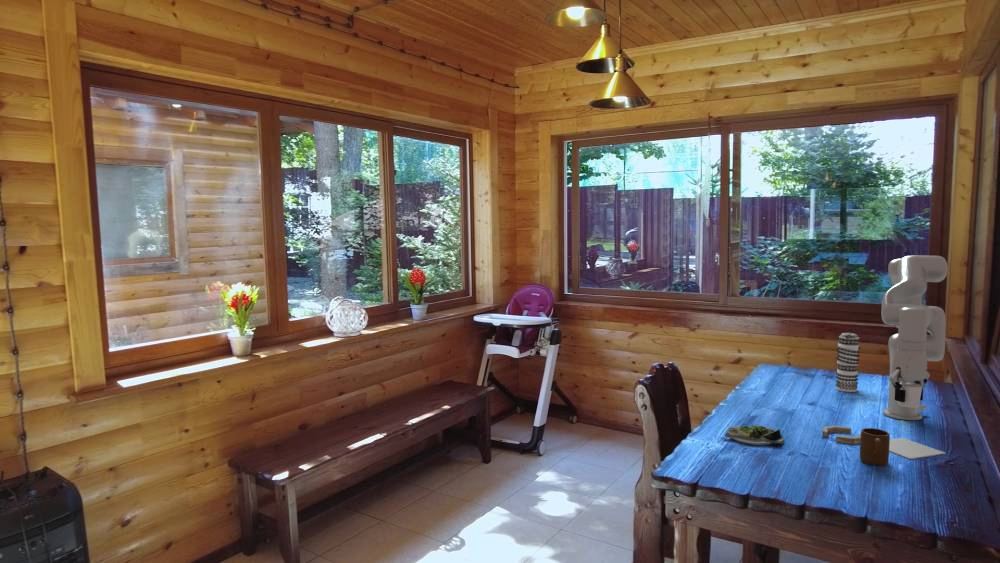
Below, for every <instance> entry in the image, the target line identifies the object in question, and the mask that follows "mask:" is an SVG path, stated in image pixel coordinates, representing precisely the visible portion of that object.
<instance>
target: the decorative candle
mask: <svg viewBox="0 0 1000 563" xmlns="http://www.w3.org/2000/svg"><path fill="white" fill-rule="evenodd" d="M859 339H860V337H859V336H858V335H857V334H856V333H851V332H842V333H841V334H840V335H839V336H838V344H837V345H836V352H837V353H836V360H837V361H836V363H837V371H836V374H835V375H836V376H835V377H836V380H835V386H836V387H835V389H836V390H838V391H840V392H845V393H846V392H847V393H854V392H858V384H859V383H858V381H859V380H858V379H859V378H858V377H859V375H858V366H859V364H860V363H859V362H860V359H859V357H861V355H860V353H861V351H859V349H861V346H860V345H859Z"/></svg>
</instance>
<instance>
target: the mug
mask: <svg viewBox="0 0 1000 563" xmlns="http://www.w3.org/2000/svg"><path fill="white" fill-rule="evenodd" d="M860 432H861V439H860V443H859V445H860V446H859V459H860V461H862V462H863V463H864V464H868V465H871V466H878V467H881V466H886V465H888V464H889V459H890V458H889V457H890V452H889V443H890V433H889V432H888V431H886V430H882V429H878V428H873V427H871V428H870V427H867V428H862V429H861V431H860Z"/></svg>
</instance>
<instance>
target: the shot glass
mask: <svg viewBox="0 0 1000 563" xmlns="http://www.w3.org/2000/svg"><path fill="white" fill-rule="evenodd" d="M900 384H902V382H900ZM904 390H905V391H906V392H905V402H899V401H898V405H900V406H903V407H909V408H917V407H919V405H920V402H921V400H920V397H921V391H922V385H920V384H917V383H912V382H907V383H906V385H905V388H904Z"/></svg>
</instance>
